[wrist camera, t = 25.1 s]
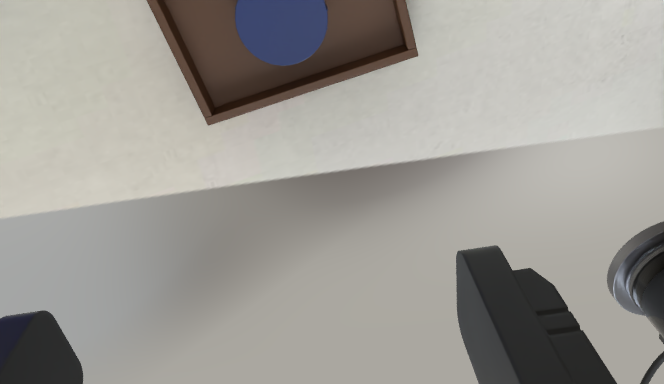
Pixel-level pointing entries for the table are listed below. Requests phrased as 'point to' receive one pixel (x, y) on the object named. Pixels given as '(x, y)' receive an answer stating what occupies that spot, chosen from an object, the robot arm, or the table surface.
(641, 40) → the table surface
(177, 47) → the tray
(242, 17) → the jar lid
